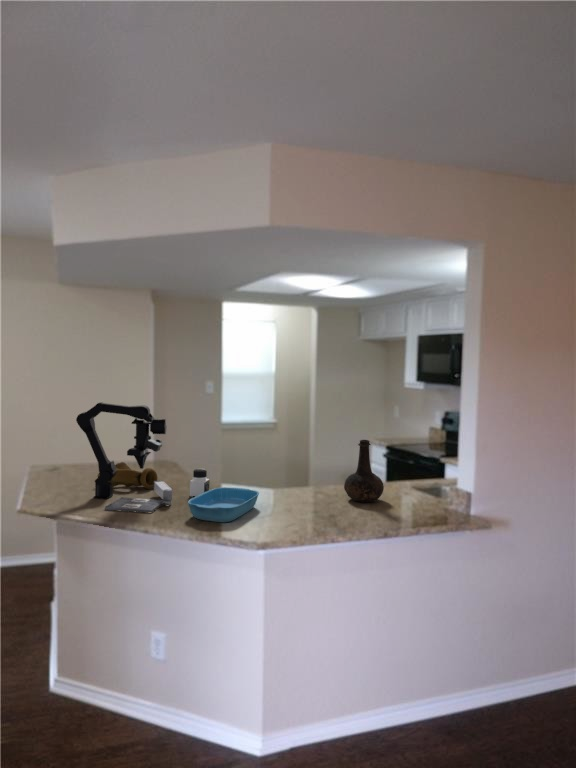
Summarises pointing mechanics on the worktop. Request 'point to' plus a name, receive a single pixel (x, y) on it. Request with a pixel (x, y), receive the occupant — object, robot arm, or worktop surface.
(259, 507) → the worktop surface
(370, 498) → the glass bottle
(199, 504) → the casserole dish
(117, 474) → the brown looped sculpture
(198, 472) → the medicine bottle
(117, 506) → the label board
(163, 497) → the swing arm
